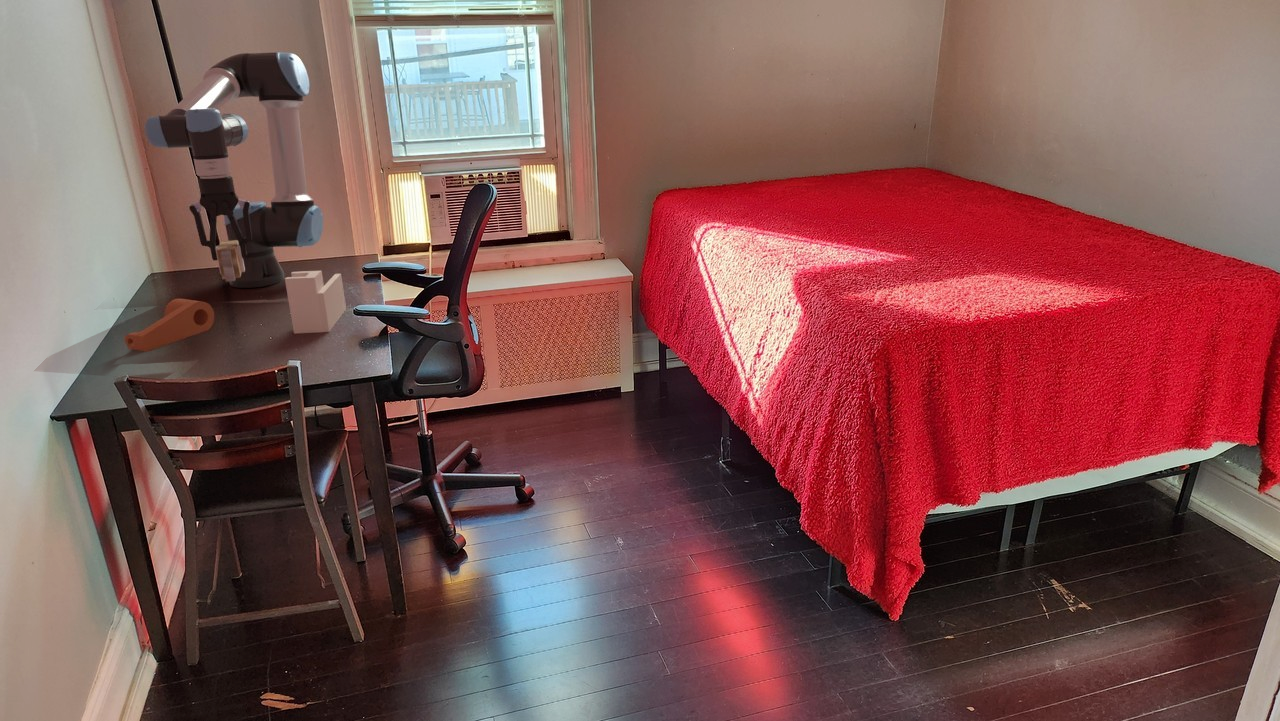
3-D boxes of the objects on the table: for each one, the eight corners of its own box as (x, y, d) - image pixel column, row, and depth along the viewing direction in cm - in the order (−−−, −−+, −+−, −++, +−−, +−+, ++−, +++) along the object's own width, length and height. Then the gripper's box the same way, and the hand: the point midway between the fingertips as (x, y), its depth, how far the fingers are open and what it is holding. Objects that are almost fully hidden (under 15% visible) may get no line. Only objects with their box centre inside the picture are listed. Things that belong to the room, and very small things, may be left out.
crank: (195, 324, 217) (188, 294, 214) (217, 327, 214) (210, 297, 211) (123, 348, 200) (115, 316, 197) (145, 352, 197) (138, 320, 194)
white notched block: (294, 333, 208) (284, 278, 203) (313, 311, 226) (305, 260, 221) (329, 331, 209) (320, 277, 204) (346, 309, 227) (338, 258, 222)
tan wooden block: (225, 268, 212) (220, 241, 210) (243, 267, 214) (238, 239, 211) (221, 282, 199) (215, 253, 197) (239, 280, 200) (234, 251, 198)
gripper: (172, 180, 193) (193, 279, 201) (252, 175, 199) (269, 271, 207) (176, 176, 200) (196, 272, 208) (254, 172, 206) (270, 265, 214)
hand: (232, 271), depth 207 cm, fingers closed on tan wooden block, 4 cm apart
